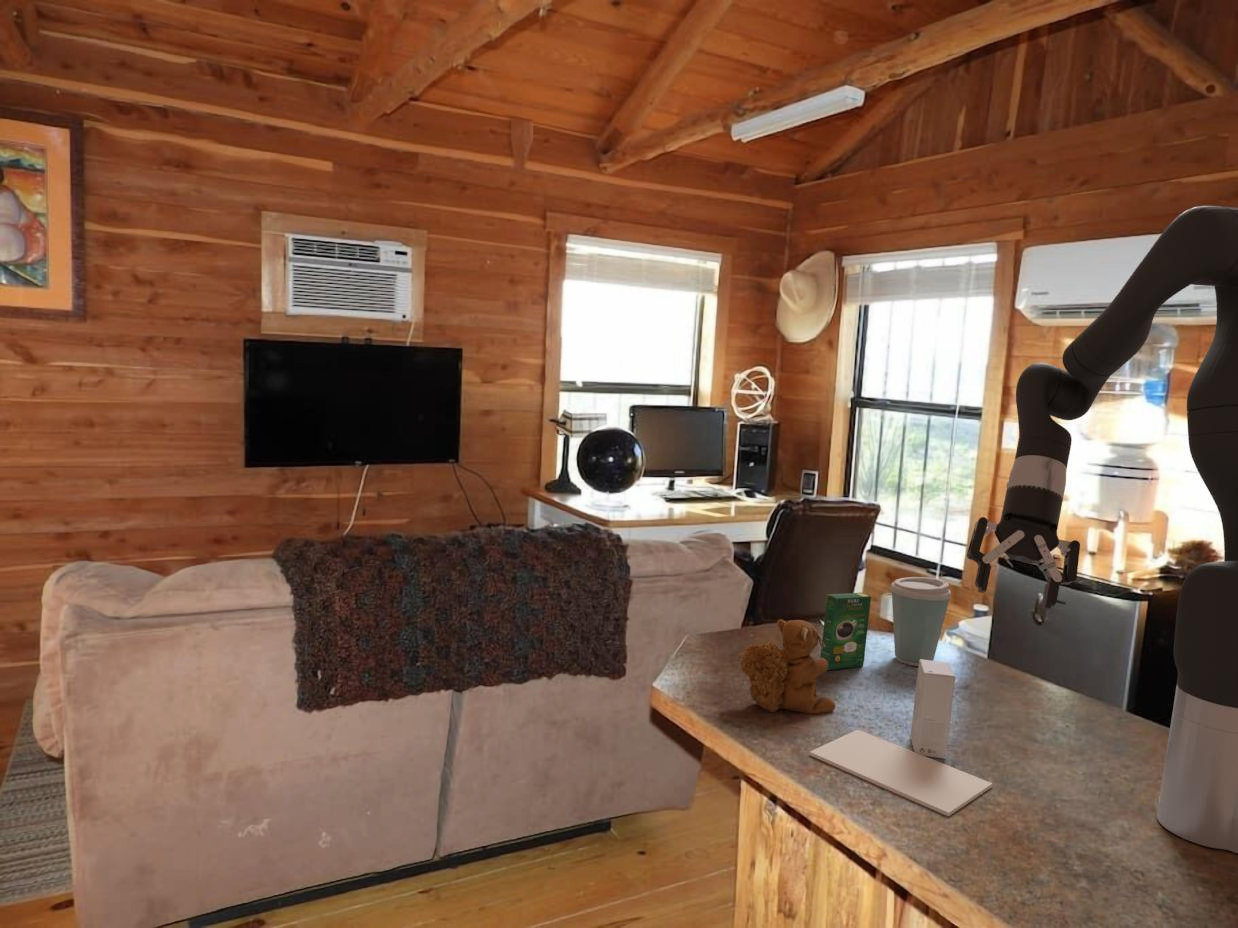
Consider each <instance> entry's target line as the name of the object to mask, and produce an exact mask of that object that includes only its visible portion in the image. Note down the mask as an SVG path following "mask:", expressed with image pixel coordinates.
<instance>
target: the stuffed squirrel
mask: <svg viewBox="0 0 1238 928" xmlns="http://www.w3.org/2000/svg"><path fill="white" fill-rule="evenodd" d="M776 623H777V625H776V626H777V627H778V629H779V632H780V633H781V635H782V641H783V642H782V648H783V649H780V648H779V647H778V646H777V645H776V644H774V643H771V642H765V643H763V644H757V643H756V644H750V645H748V646H747V647H746V648H745V650H743V651H741V652H738V655H739V656H740V657H741V658H742V659H741V660H740V661H739V664H740V670H741V671H742V673H744V675H747V676H748V678H749V679H748V680H749V682H750V685H751V686H749V693H750V696H751V699H752V700H753V701H755V703H756V704H757V705H758V706H760V707H761V708H762V709H764V710H766V711H768V712H769V713H775V712H777V711H778V710H781V709H786V710H788V711H792V712H798V713H804V714H822V713H824V714H825V713H828V712H829V713H830V712H833V711H835V708H836V703H835V702H834V701H833V700H832V699H831V698H829V697H823V696H821V697H818V695H817V682H816V678H817V677H818V676H821V675H823V674H824V673H826V672H827V671H828V670H827V668H828V662H827V661H826V660H825V659H824V658H820V657H819V658H817V659H813V657H812V655H811V652H812V651H813V650H814V649H815V648H816V647H817V646H818V644H820V648H822V649H823V646H824V647H825V645H824V643H823V641H822V638H821V636H820V635H819V632H818V630H817V628H816V627H814V625H812V624H811V623H810V622H808V621H806V620H804V619H803V620H802V619H795V620H794V619H793V620H789V621H787V622H786V621H785V620H784V619H778V620H777V621H776ZM822 643H823V646H822Z"/></svg>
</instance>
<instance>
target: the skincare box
mask: <svg viewBox="0 0 1238 928" xmlns="http://www.w3.org/2000/svg"><path fill="white" fill-rule="evenodd" d="M917 668H918V669H917V677H916V685H915V694H914V695H915V696H914V703H913V711H912V712H913V713H912V719H911V720H912V722H911V728H910V737H909V738H910V741H911V744H912V748H913V752H915V753H918V754H920V755H923V756H925V757H928V758H930V757H931V758H938V759H947V751H948V750H947V749H948V742H949V734H950V733H949V732H950V727H951V726H950V725H951V718H952V708H953V702H954V700H953V699H954V692H955V682H956V676H955V673H954V672H953V669H952V667H951V666H950V663H949V662H945V661H938V660H933V661H931V660H924V659H920V660H919V666H918V667H917Z"/></svg>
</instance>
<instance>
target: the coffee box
mask: <svg viewBox="0 0 1238 928" xmlns="http://www.w3.org/2000/svg"><path fill="white" fill-rule="evenodd" d="M826 595H827V596H826V602H825V603H826V604H825V612H824V613H825V614H824V622H823V631H822V638H821V639H822V641H823V643H824V645H825V647H824V646H823V643H822V641H821V644H822V646H823V649H822V648H821V647H820V648H821V649H820V657H819V659H820V658H824V659H825V660H826V661H827V662H828V668H827V670H826V671H831V670H834V671H835V670H839V669H841V670H842V669H849V668H858V667H864V662H865V656H866V655H865V653H866V644H867V643H866V642H867V635H868V626H869V618H870V611H871V601H872V595H869V594H867V593H864V592H851V593H850V592H849V593H848V592H847V593H831V594H830V593H829V594H826Z"/></svg>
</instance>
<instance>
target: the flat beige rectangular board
mask: <svg viewBox="0 0 1238 928" xmlns="http://www.w3.org/2000/svg"><path fill="white" fill-rule="evenodd" d="M809 756H810V757H813V758H814V759H818V760H820V761H822V762H824V763H827V764H828V765H830V766H834V767H835V768H838V769H839V770H842V771H845V772H847V773H848V774H851V775H854V776H855V777H858V778H860V779H863V780H864V781H867V782H869V783H872V784H874V785H876V786H878V787H880V788H883V789H886V790H888V791H889V792H892V793H894V794H896V795H899V796H901V797H903V798H906V799H908V800H910V801H912V802H915V803H917V804H919V805H922V806H923V807H926V808H928V809H930V810H932V811H935V812H936V813H940V814H942V815H944V816H946V817H950V816H951V815H953V814H955V813H956V812H957V811H959V810H961V809H962V808H963V807H965V806H966V805H968V804H969V803H971V802H972V801H974V800H975V799H977V798H978V797H980V796H981V795H983V794H984V793H986V792H987V791H989V790H990V789H992V788H993V783H992V782H990V781H987V780H985V779H983V778H980V777H979V776H975V775H973V774H970V773H967V772H965V771H962V770H959V769H957V768H954V767H953V766H949V765H947V764H946V763H942V762H940V761H938V760H935V759H933V758H930V757H929V756H923V755H920V754H918V753H915V752H914V750H913V751H912V750H910V749H907V748H905V747H903V746H900V745H898V744H895V743H892V742H890V741H887V740H885V739H884V738H883V739H882V738H880V737H877V736H875V735H872V734H870V733H867V732H866V731H862V730H860V729H856V730H854V731H851V732H848V733H846V734H845V735H843V736H841V737H839V738H836V739H835V740H832V741H830V742H827V743H825V744H823V745H821V746H819V747H817V748H815V749H812V750H811V751H809Z"/></svg>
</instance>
